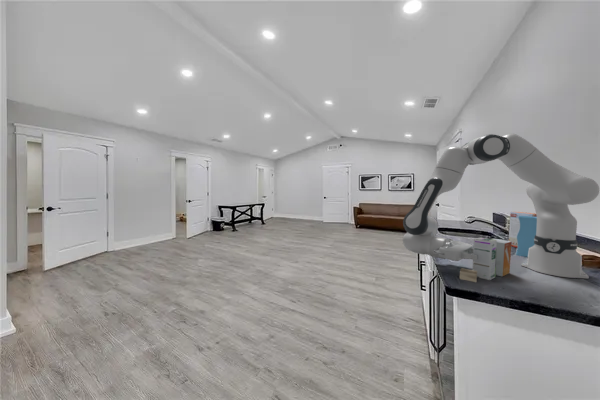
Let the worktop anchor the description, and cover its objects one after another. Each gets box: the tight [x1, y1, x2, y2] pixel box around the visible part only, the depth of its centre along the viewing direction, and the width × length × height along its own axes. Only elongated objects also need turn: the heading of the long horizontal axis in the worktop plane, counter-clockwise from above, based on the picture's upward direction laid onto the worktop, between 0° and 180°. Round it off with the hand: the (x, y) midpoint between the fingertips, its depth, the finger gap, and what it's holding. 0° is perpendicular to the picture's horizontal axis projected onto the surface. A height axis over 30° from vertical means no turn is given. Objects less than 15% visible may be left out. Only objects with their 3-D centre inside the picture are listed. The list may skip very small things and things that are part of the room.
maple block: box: [459, 267, 478, 283], centre depth 88 cm, size 5×5×3 cm
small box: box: [493, 238, 512, 277], centre depth 94 cm, size 8×6×13 cm
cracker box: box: [508, 211, 537, 249], centre depth 137 cm, size 14×6×21 cm, turn 179°
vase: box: [515, 216, 537, 258], centre depth 122 cm, size 8×8×20 cm
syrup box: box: [472, 237, 497, 281], centre depth 90 cm, size 6×6×14 cm
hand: (481, 255), depth 90 cm, fingers open, 8 cm apart
